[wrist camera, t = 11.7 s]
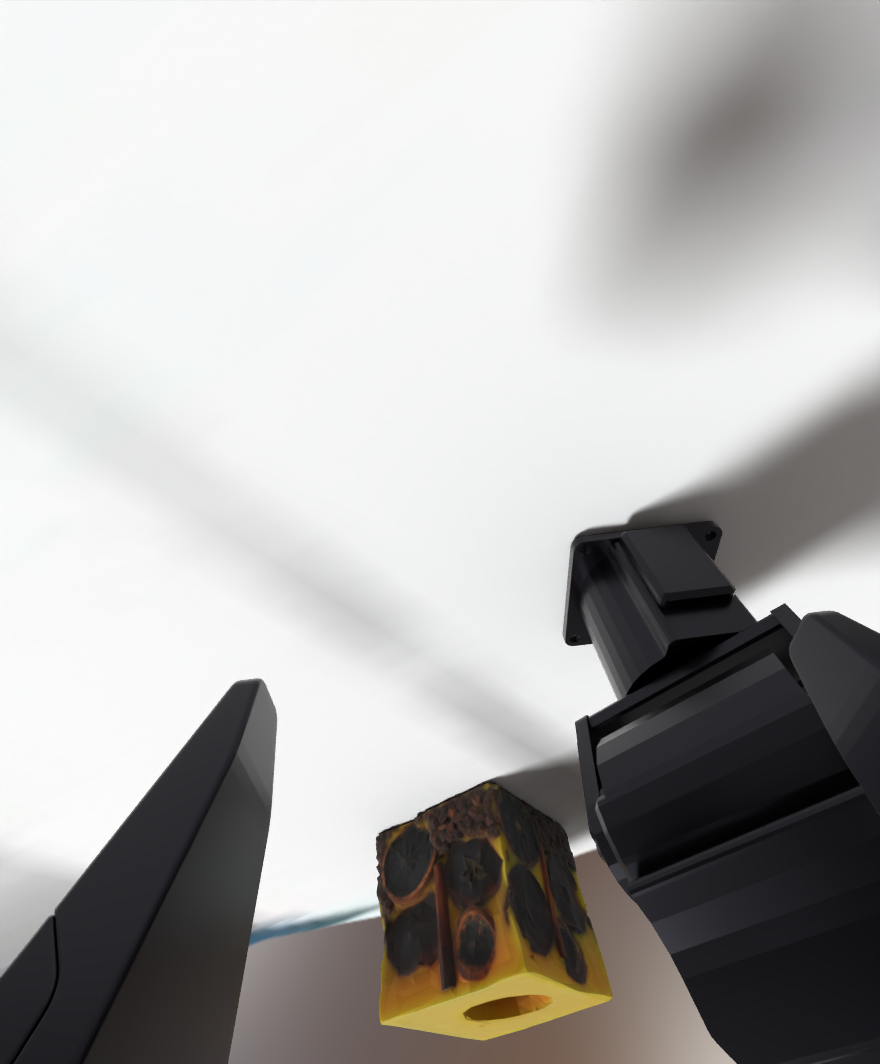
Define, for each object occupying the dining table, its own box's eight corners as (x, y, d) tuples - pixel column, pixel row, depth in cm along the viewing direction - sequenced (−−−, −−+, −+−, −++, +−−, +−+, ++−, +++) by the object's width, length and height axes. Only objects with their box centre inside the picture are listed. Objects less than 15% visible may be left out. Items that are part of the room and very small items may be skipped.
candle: (373, 833, 37) (370, 1024, 28) (489, 774, 34) (524, 971, 25) (460, 873, 42) (479, 1045, 34) (568, 825, 39) (618, 1002, 31)
